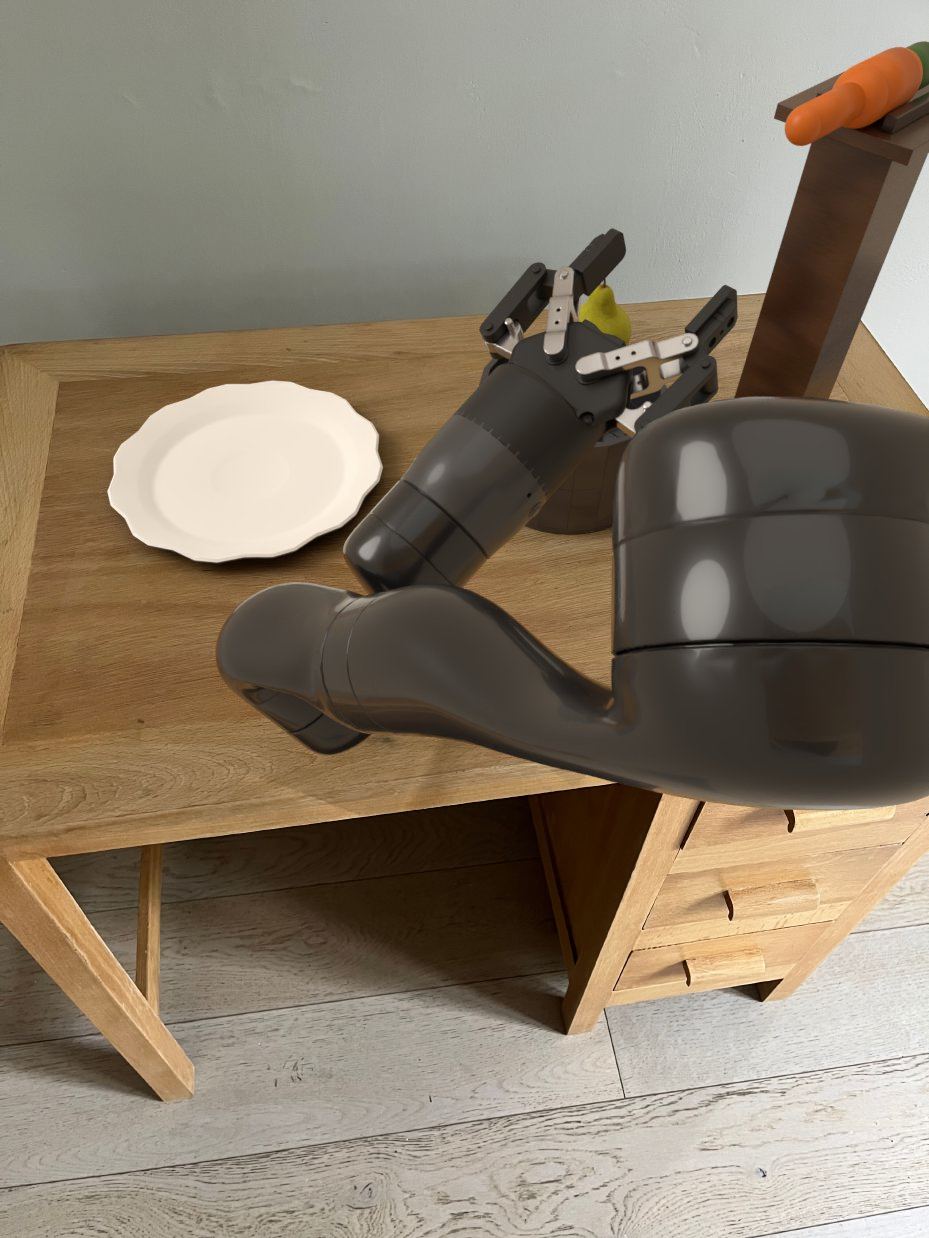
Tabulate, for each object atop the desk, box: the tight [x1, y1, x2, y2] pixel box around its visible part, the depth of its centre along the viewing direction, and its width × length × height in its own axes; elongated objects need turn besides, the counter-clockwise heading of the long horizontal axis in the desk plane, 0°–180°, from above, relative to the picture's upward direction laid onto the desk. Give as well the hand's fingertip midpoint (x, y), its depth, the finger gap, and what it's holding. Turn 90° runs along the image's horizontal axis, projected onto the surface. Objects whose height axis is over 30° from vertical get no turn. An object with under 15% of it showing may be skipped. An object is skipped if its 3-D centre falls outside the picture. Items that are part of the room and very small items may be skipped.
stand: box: [733, 70, 929, 399], centre depth 70 cm, size 11×11×33 cm
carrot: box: [784, 40, 929, 147], centre depth 55 cm, size 4×16×4 cm, turn 134°
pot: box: [478, 357, 669, 535], centre depth 78 cm, size 16×16×10 cm
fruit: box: [579, 277, 633, 346], centre depth 89 cm, size 7×7×12 cm
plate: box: [106, 380, 384, 565], centre depth 81 cm, size 25×25×2 cm
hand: (674, 267), depth 52 cm, fingers open, 8 cm apart
